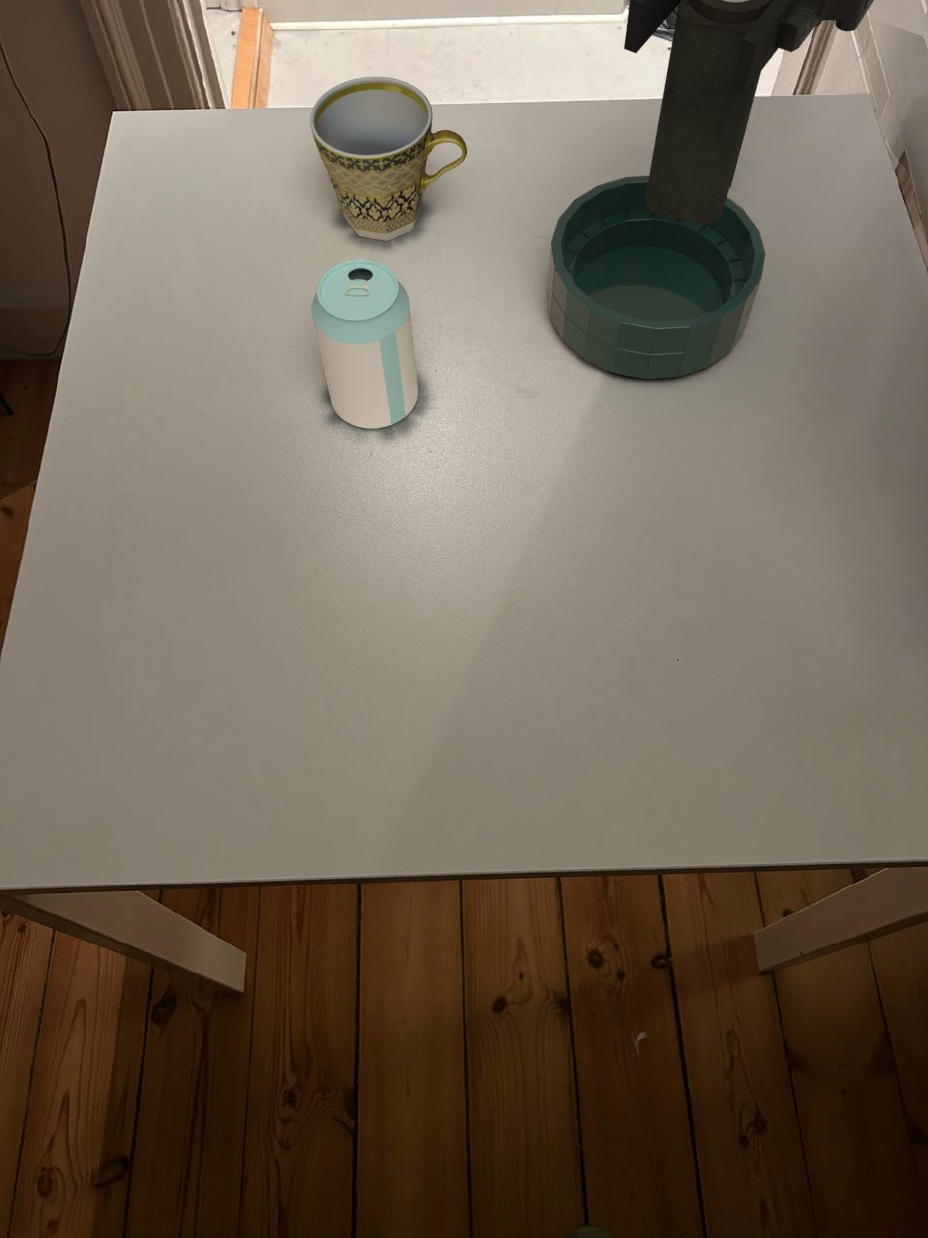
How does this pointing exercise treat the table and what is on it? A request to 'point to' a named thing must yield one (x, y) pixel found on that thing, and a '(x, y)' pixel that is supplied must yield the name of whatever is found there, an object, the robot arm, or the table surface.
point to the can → (366, 343)
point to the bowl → (650, 282)
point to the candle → (702, 111)
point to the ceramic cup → (378, 152)
